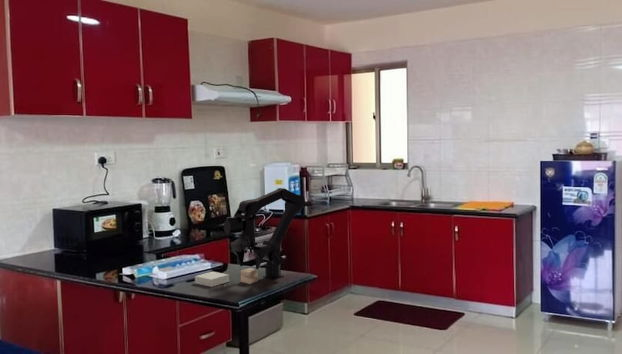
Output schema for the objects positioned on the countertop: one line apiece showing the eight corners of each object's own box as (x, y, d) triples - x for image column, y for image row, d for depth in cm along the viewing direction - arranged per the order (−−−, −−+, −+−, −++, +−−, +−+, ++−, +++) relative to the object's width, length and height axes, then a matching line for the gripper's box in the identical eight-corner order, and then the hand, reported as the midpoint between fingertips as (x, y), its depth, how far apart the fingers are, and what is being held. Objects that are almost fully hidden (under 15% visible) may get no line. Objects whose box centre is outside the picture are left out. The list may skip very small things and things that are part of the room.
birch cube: (249, 279, 247) (248, 268, 247) (257, 281, 244) (257, 269, 244) (240, 282, 243) (240, 270, 243) (249, 283, 240) (249, 272, 240)
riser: (212, 278, 250) (212, 271, 250) (229, 281, 244) (228, 274, 244) (195, 283, 242) (194, 276, 242) (211, 286, 236) (211, 279, 236)
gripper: (218, 231, 241) (219, 268, 243) (251, 236, 230) (252, 274, 231) (237, 228, 250) (238, 263, 251) (269, 231, 239) (270, 269, 240)
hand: (249, 267), depth 243 cm, fingers open, 9 cm apart
